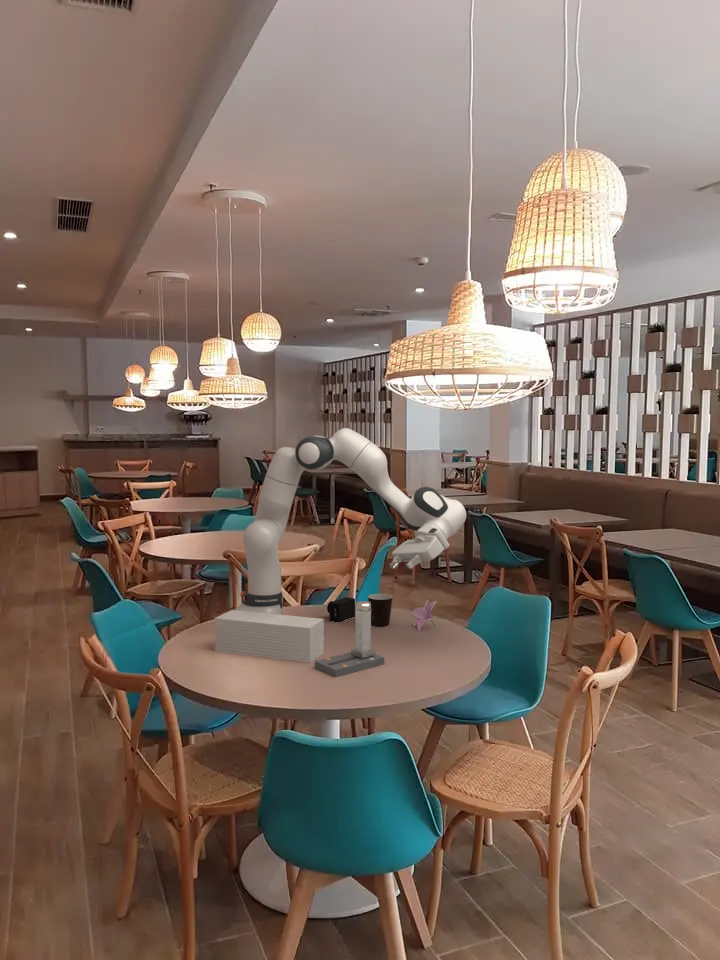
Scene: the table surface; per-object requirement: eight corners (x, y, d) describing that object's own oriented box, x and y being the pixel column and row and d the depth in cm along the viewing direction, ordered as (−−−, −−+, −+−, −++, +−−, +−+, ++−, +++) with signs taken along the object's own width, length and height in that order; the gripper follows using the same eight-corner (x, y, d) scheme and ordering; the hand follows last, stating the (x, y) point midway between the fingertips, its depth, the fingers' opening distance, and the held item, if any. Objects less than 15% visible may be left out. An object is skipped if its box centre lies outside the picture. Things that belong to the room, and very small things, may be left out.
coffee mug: (370, 620, 266) (370, 593, 265) (394, 622, 264) (394, 594, 263) (364, 629, 255) (364, 601, 254) (388, 631, 253) (389, 602, 252)
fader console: (335, 677, 207) (335, 669, 207) (314, 667, 215) (314, 660, 215) (384, 663, 219) (384, 656, 218) (362, 655, 226) (362, 648, 226)
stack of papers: (323, 653, 230) (323, 618, 229) (310, 663, 220) (310, 627, 219) (232, 642, 240) (231, 609, 239) (215, 652, 230) (214, 618, 229)
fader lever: (361, 658, 216) (362, 606, 215) (351, 654, 220) (351, 602, 219) (374, 655, 219) (375, 603, 218) (364, 651, 223) (364, 600, 222)
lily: (415, 624, 265) (404, 603, 262) (445, 613, 263) (435, 591, 260) (416, 644, 254) (405, 622, 251) (448, 632, 252) (438, 610, 249)
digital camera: (343, 614, 274) (343, 596, 274) (355, 617, 271) (355, 598, 271) (326, 621, 266) (326, 601, 265) (339, 623, 263) (339, 603, 262)
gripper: (405, 532, 241) (377, 559, 234) (442, 529, 223) (412, 558, 217) (416, 548, 242) (388, 575, 236) (453, 545, 224) (423, 575, 218)
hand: (399, 567), depth 226 cm, fingers open, 8 cm apart
